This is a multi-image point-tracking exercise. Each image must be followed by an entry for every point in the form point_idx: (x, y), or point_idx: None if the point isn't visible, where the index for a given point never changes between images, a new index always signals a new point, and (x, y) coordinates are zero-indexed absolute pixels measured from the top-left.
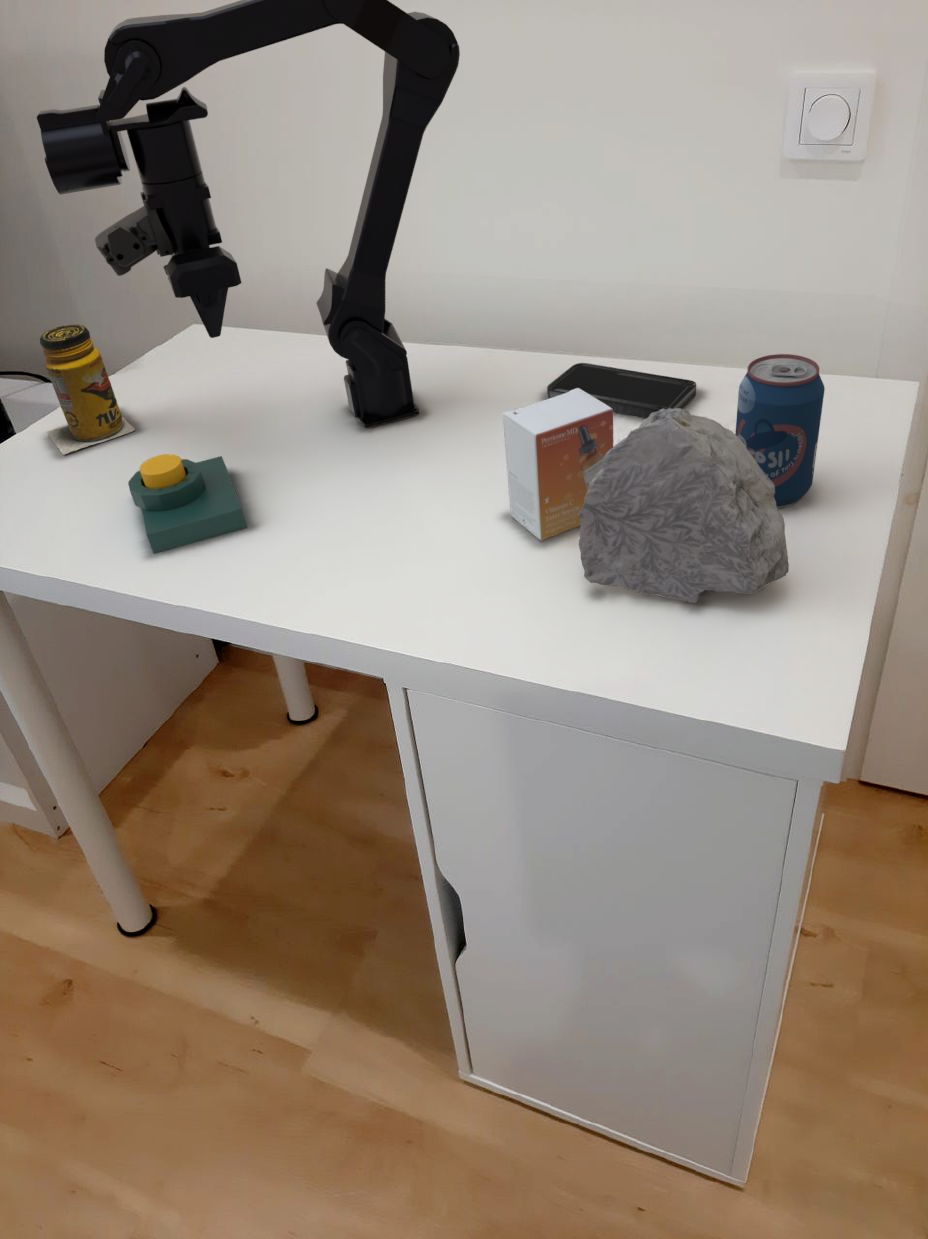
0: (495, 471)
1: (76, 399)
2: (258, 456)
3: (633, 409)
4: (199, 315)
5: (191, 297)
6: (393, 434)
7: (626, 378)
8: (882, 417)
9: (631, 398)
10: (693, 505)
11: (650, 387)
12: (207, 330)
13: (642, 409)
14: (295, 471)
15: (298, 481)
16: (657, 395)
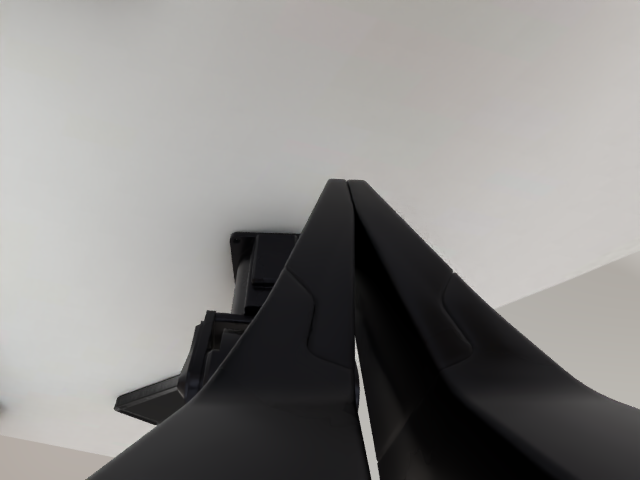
0: (43, 302)
1: None
2: (218, 44)
3: (134, 396)
4: (293, 250)
5: (220, 367)
6: (196, 252)
7: None
8: (81, 447)
9: (152, 401)
10: None
11: (168, 411)
12: (319, 199)
13: (127, 400)
14: (115, 97)
15: (66, 90)
16: (150, 410)
